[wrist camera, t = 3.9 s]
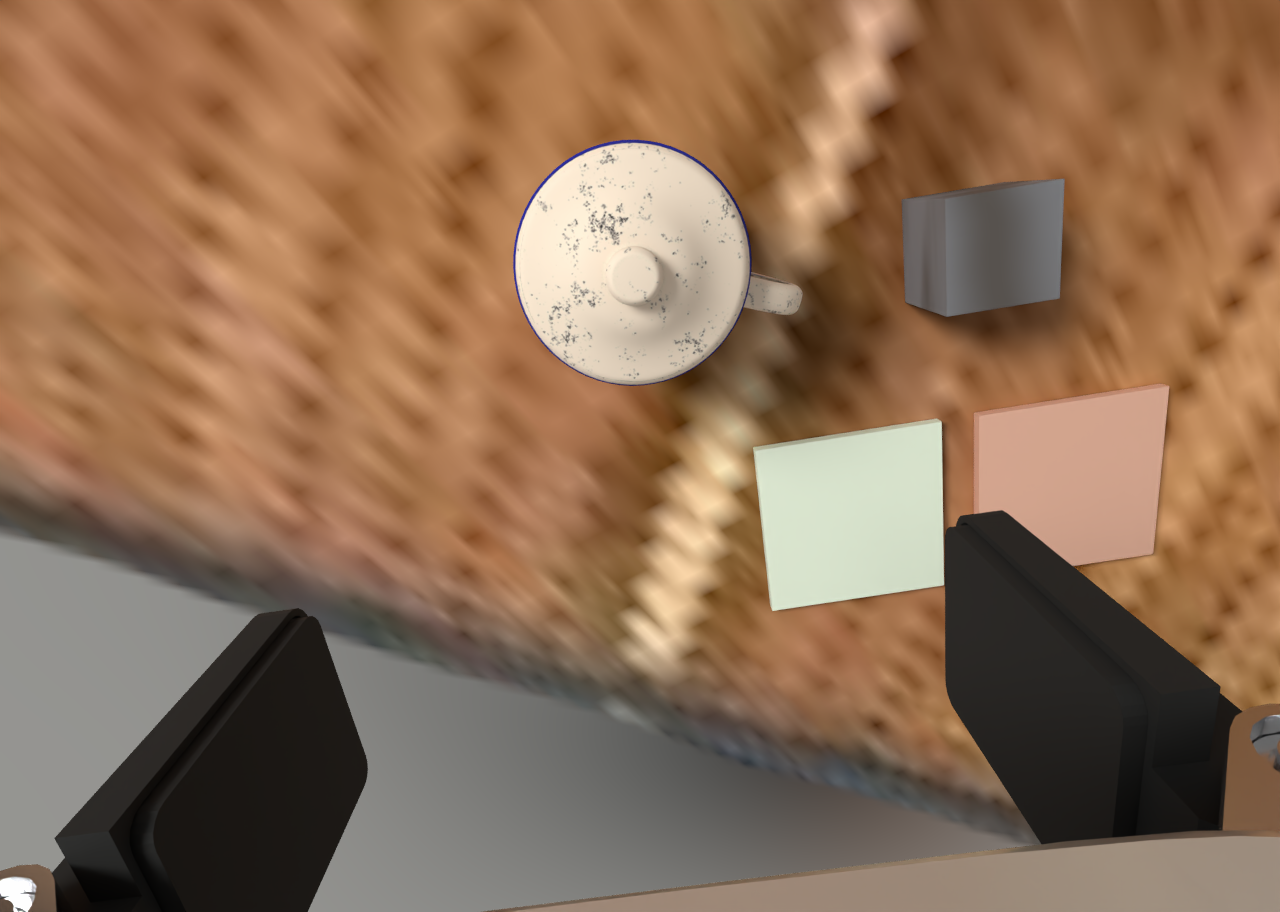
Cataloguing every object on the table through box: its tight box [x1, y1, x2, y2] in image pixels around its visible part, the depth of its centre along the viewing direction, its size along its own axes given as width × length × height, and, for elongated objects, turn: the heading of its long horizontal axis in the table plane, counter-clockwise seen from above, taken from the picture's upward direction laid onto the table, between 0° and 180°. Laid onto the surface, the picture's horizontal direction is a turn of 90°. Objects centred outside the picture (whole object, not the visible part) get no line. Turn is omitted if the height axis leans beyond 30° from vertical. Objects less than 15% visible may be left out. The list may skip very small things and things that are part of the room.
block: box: [902, 179, 1064, 317], centre depth 33 cm, size 5×5×5 cm
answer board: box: [753, 384, 1169, 611], centre depth 40 cm, size 22×10×1 cm, turn 99°
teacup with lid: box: [513, 140, 803, 386], centre depth 30 cm, size 12×9×12 cm
